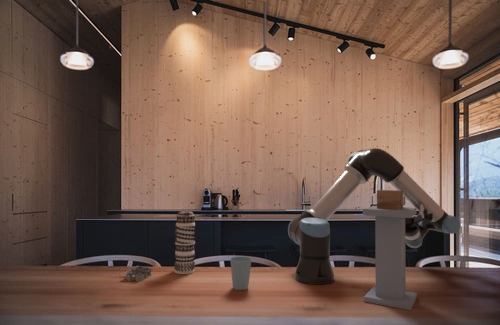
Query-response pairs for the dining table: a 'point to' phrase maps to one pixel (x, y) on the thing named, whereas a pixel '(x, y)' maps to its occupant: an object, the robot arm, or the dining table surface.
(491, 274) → the dining table surface
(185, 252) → the decorative candle
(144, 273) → the brown lumpy stone
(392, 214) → the stand
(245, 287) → the cup
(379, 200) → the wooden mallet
